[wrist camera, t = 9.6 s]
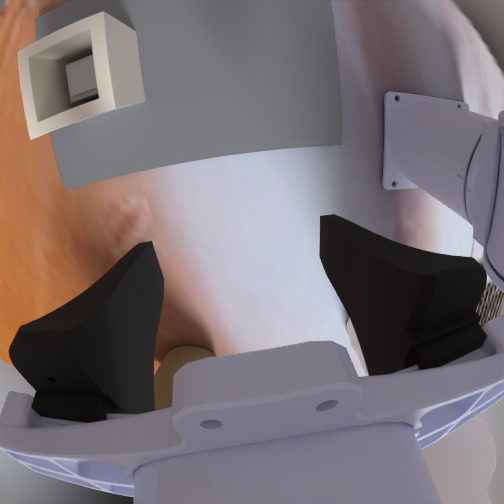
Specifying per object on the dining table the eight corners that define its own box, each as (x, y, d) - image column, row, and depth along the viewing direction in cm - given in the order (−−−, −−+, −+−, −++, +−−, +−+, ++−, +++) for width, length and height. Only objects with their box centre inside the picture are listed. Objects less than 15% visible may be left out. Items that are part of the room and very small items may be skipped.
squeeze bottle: (153, 375, 31) (146, 520, 16) (155, 331, 27) (140, 513, 12) (220, 383, 33) (233, 524, 18) (235, 341, 29) (257, 517, 14)
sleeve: (136, 31, 13) (103, 11, 8) (145, 101, 16) (115, 108, 11) (67, 55, 13) (17, 52, 8) (77, 121, 15) (30, 140, 10)
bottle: (404, 325, 32) (504, 530, 7) (347, 348, 32) (429, 575, 7) (408, 277, 28) (546, 523, 2) (341, 304, 28) (454, 589, 3)
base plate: (319, -33, 12) (343, -55, 8) (336, 141, 20) (364, 157, 16) (42, 20, 11) (8, 12, 7) (70, 186, 19) (43, 210, 15)
